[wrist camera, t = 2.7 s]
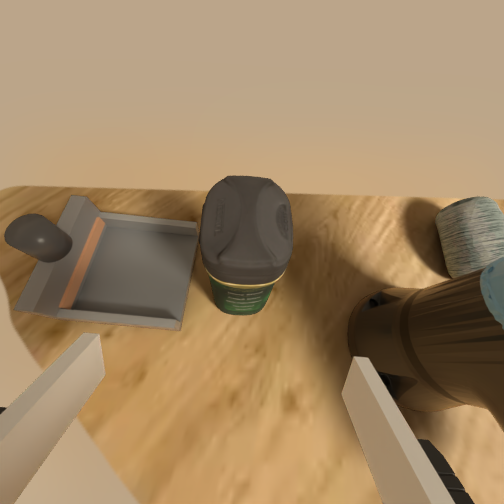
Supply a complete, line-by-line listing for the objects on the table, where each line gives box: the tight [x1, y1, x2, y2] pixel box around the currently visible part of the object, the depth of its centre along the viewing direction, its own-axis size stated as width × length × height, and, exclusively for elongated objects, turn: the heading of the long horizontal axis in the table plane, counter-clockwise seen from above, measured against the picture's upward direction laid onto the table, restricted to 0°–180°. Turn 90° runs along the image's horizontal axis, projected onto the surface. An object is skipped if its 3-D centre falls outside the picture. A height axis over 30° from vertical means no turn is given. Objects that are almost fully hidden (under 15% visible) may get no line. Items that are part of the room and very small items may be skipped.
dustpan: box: [4, 195, 200, 331], centre depth 29 cm, size 17×15×11 cm
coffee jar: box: [199, 176, 293, 315], centre depth 26 cm, size 10×8×19 cm
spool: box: [435, 197, 504, 278], centre depth 36 cm, size 14×10×10 cm
